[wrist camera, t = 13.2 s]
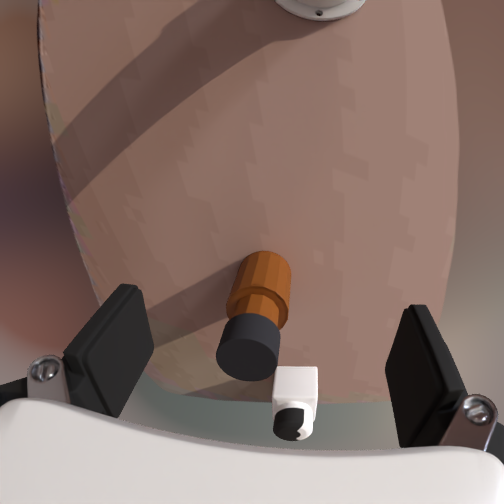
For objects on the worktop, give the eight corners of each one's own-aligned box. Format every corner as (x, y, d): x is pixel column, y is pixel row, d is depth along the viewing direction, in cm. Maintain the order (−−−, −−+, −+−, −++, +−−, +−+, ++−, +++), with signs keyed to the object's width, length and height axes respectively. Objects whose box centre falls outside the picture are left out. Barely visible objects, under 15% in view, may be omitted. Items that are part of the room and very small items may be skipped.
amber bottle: (239, 249, 44) (216, 303, 32) (292, 252, 43) (288, 309, 31) (240, 294, 47) (220, 354, 35) (289, 297, 46) (284, 361, 34)
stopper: (229, 291, 35) (213, 335, 29) (283, 295, 35) (279, 341, 28) (231, 333, 38) (217, 378, 31) (281, 337, 37) (275, 384, 30)
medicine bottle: (276, 391, 55) (269, 444, 44) (275, 365, 52) (268, 421, 41) (314, 391, 54) (314, 445, 43) (317, 365, 51) (317, 422, 40)
